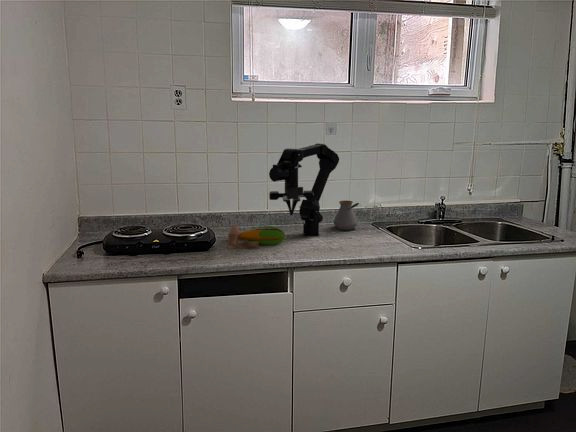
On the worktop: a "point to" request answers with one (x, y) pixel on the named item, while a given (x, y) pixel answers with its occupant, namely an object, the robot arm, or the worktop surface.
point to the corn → (263, 235)
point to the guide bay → (234, 240)
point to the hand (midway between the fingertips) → (291, 215)
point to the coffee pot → (346, 216)
